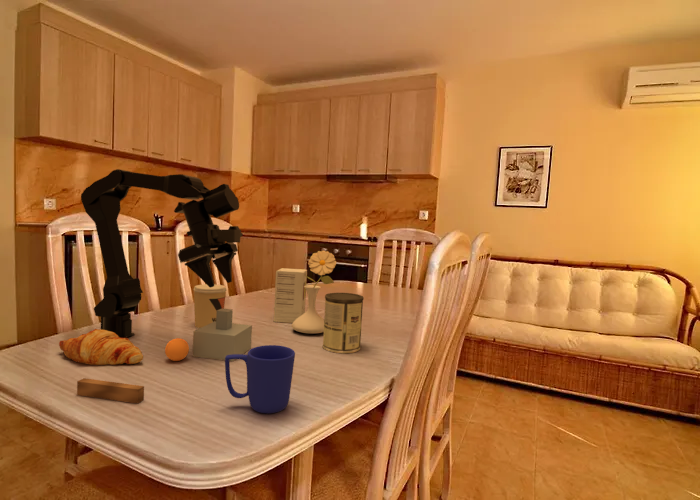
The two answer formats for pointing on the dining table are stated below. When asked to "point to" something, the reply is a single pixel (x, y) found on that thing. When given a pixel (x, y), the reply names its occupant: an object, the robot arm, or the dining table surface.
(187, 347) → the ball
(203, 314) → the coffee cup
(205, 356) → the cover
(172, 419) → the dining table surface
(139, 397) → the walnut strip
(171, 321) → the dining table surface
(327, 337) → the coffee can
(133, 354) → the croissant
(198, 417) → the dining table surface
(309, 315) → the flower in vase
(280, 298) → the supplement box
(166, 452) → the dining table surface
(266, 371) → the mug
